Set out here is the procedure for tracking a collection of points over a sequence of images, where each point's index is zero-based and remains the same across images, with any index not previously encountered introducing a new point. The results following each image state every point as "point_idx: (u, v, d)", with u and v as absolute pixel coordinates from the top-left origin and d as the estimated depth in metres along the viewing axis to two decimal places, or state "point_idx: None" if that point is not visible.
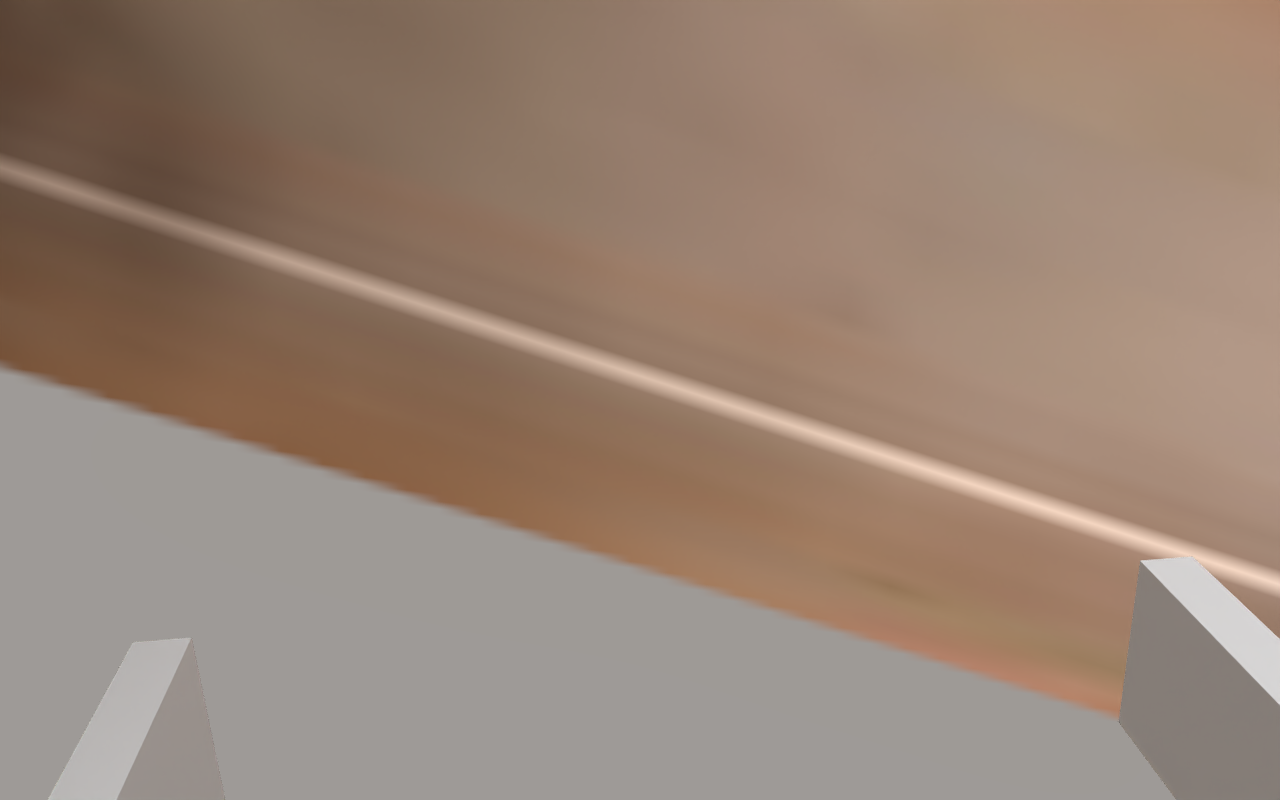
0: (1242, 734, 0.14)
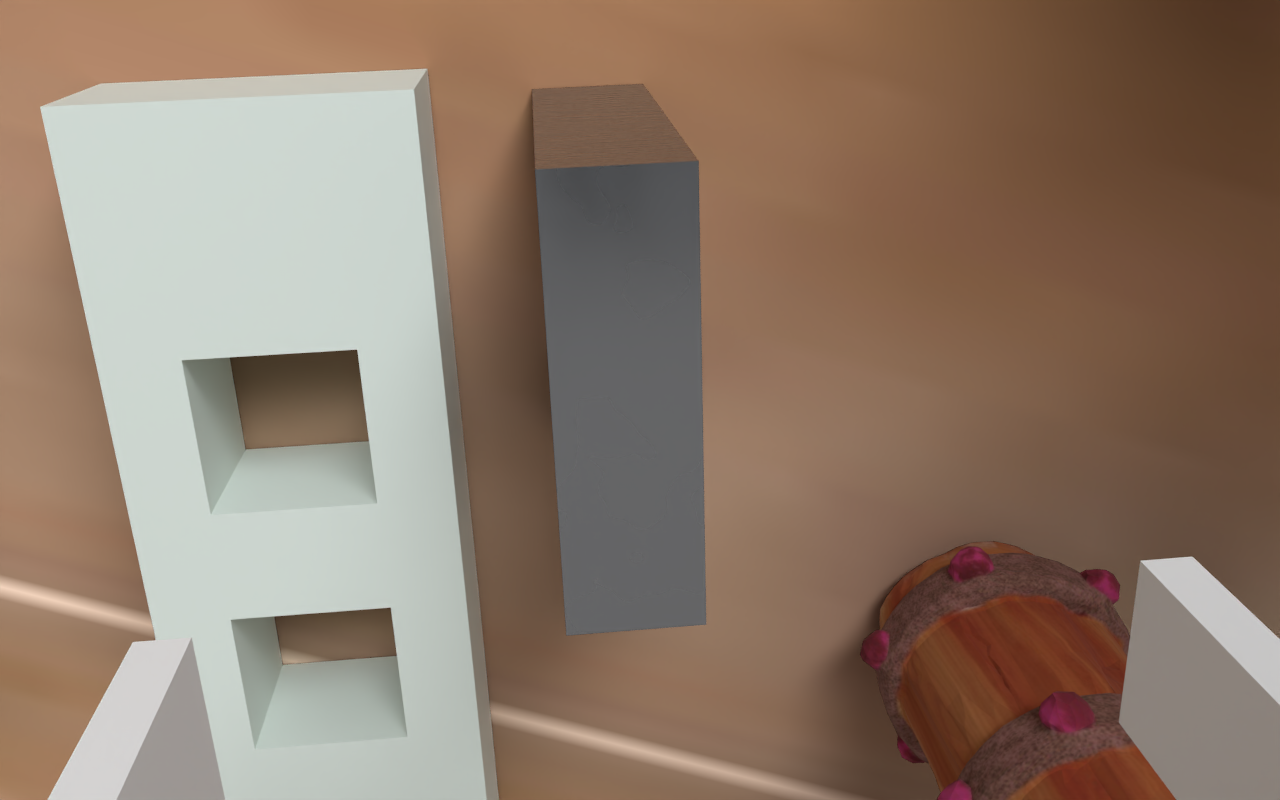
0: (1243, 735, 0.14)
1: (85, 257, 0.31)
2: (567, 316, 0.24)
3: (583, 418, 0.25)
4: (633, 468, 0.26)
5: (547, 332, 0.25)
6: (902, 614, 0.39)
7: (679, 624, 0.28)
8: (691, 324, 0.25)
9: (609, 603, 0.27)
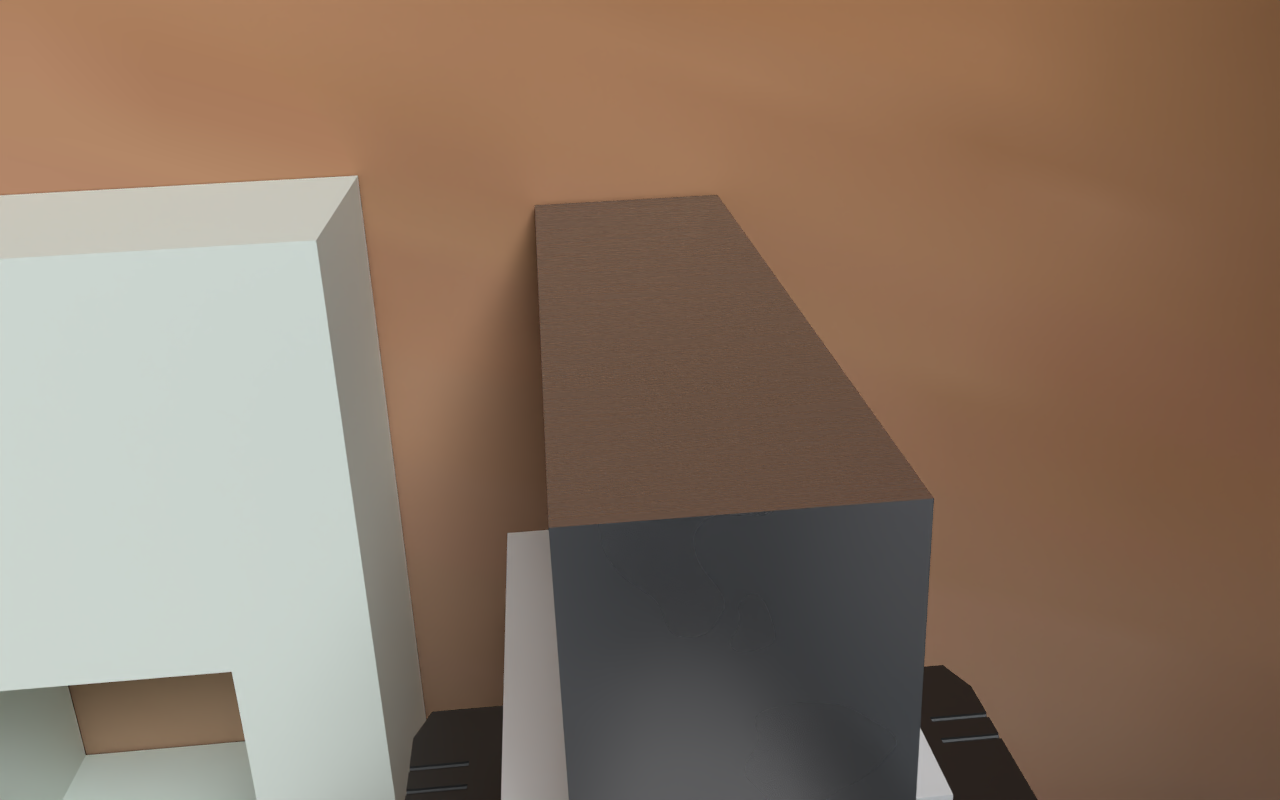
0: None
1: None
2: None
3: None
4: None
5: None
6: None
7: None
8: None
9: None
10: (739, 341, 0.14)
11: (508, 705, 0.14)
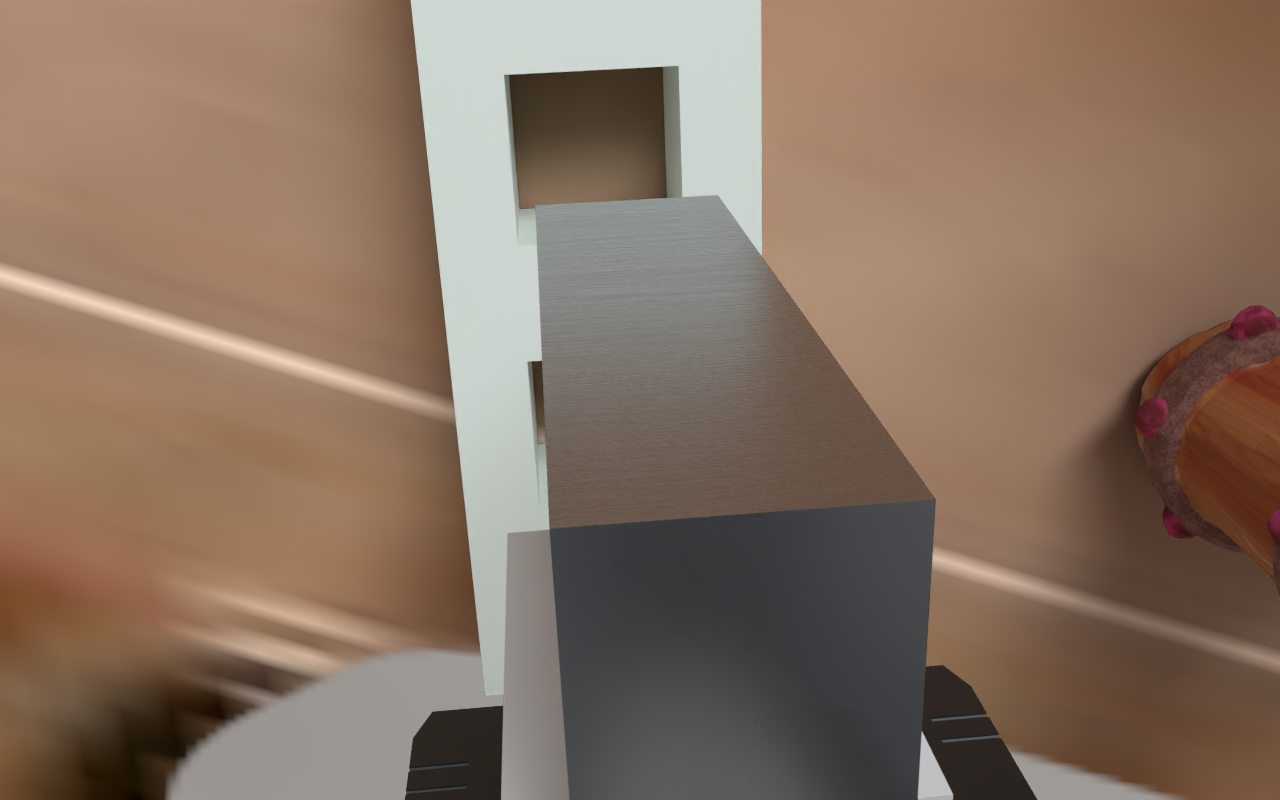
0: None
1: None
2: None
3: None
4: None
5: None
6: (1180, 378, 0.38)
7: None
8: None
9: None
10: (740, 341, 0.14)
11: (508, 705, 0.14)
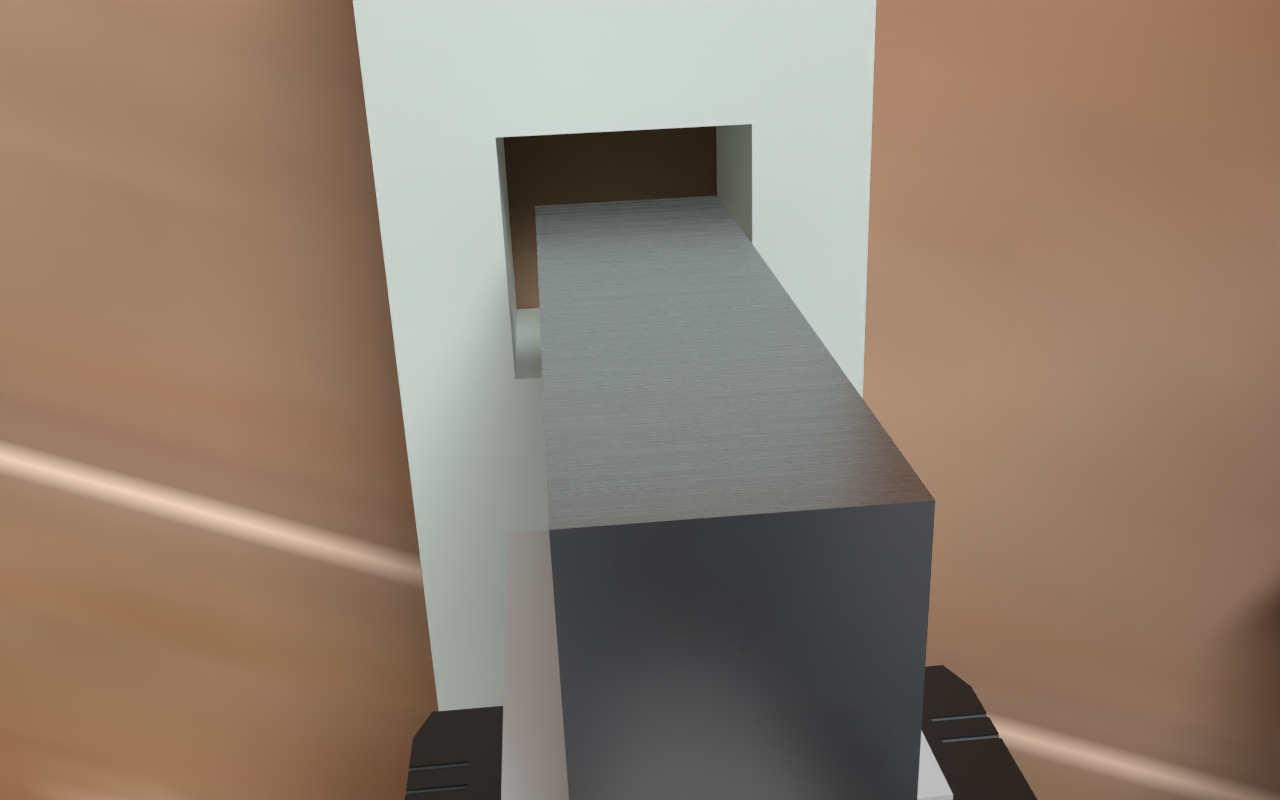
0: None
1: None
2: None
3: None
4: None
5: None
6: None
7: None
8: None
9: None
10: (740, 342, 0.14)
11: (508, 705, 0.14)
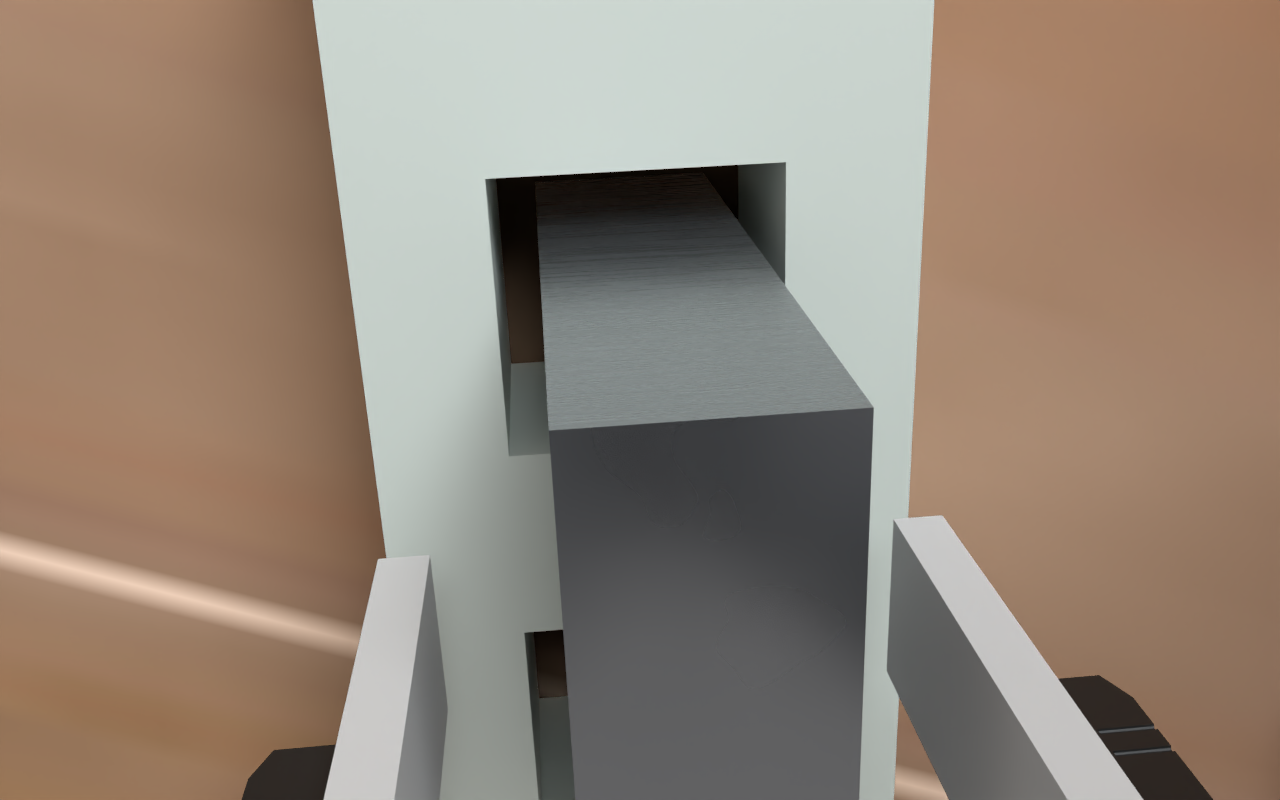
0: (951, 672, 0.16)
1: None
2: (610, 689, 0.13)
3: None
4: None
5: (572, 717, 0.13)
6: None
7: None
8: (845, 694, 0.13)
9: None
10: (716, 291, 0.16)
11: (341, 746, 0.14)
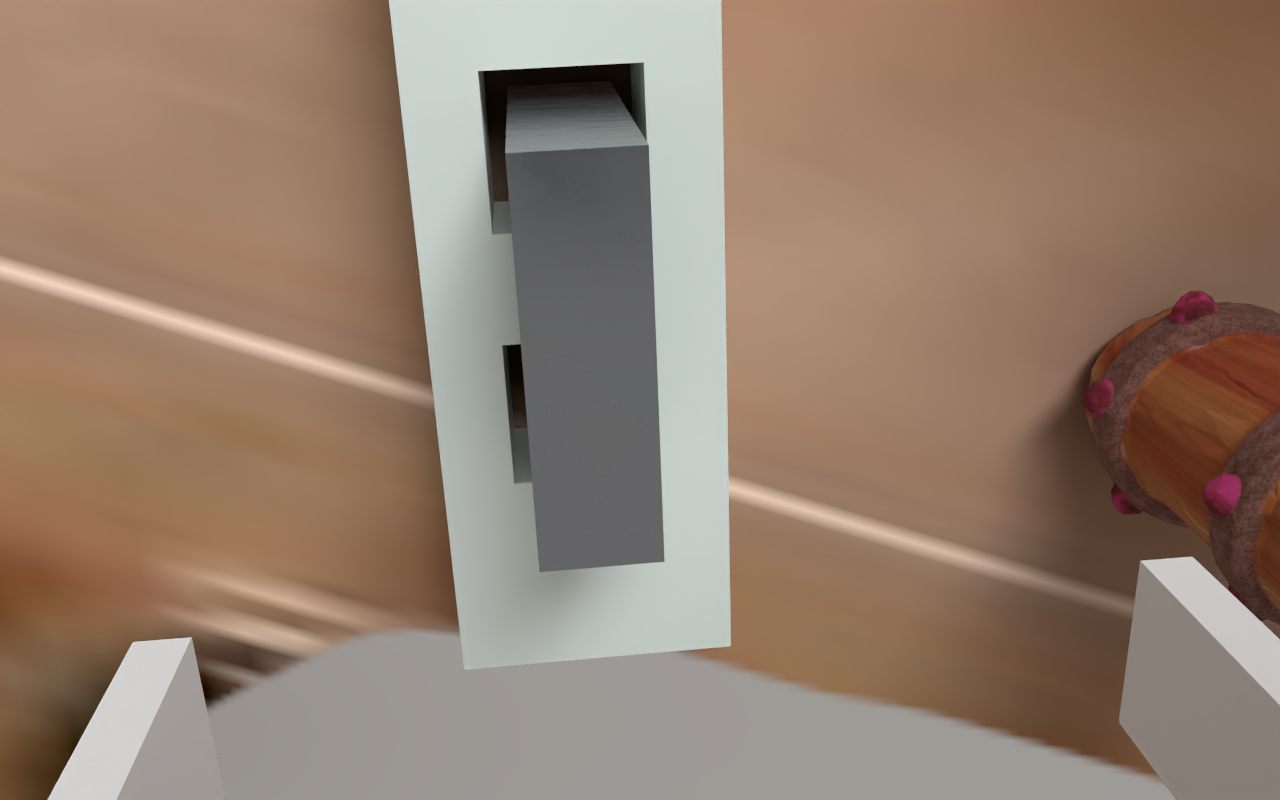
0: (1242, 734, 0.14)
1: None
2: (536, 283, 0.28)
3: (551, 375, 0.29)
4: (596, 419, 0.29)
5: (518, 298, 0.28)
6: (1125, 361, 0.40)
7: (640, 562, 0.31)
8: (645, 290, 0.28)
9: (578, 542, 0.30)
10: (595, 119, 0.31)
11: None
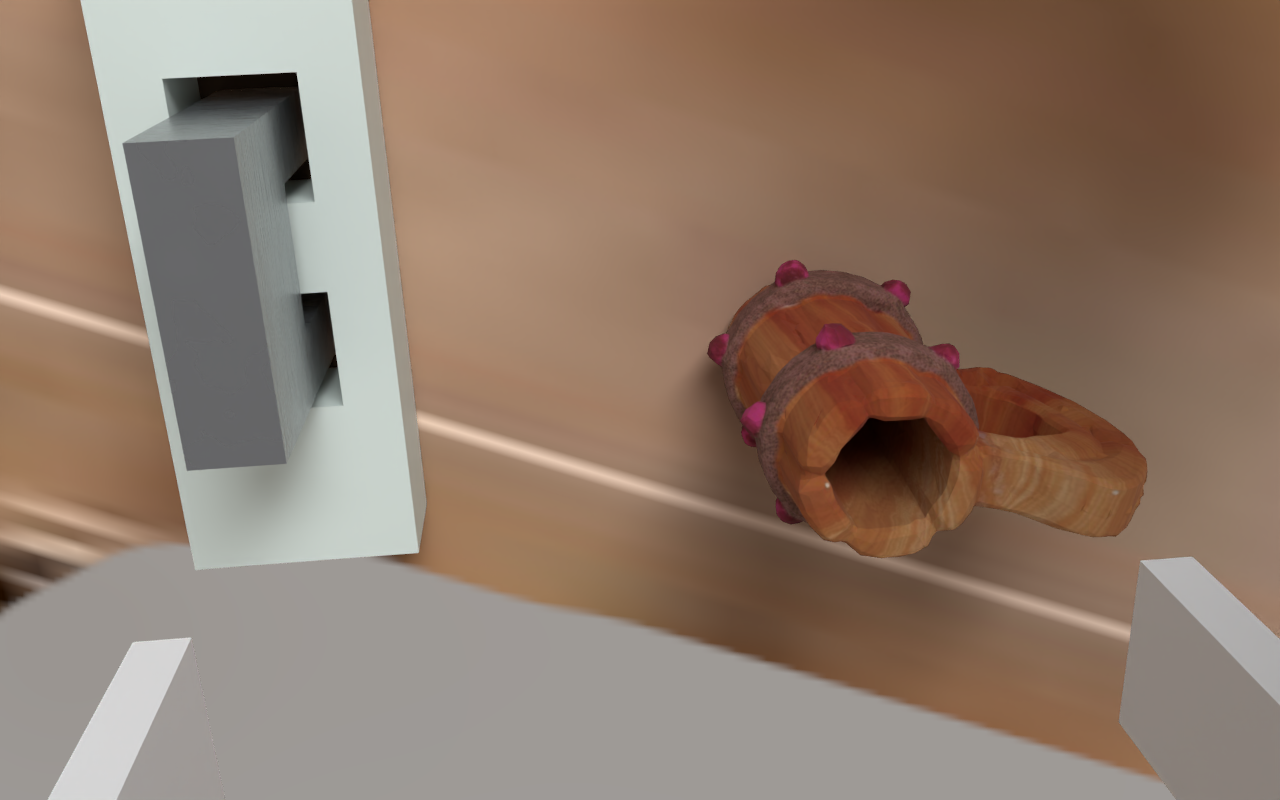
0: (1243, 734, 0.14)
1: None
2: (157, 242, 0.36)
3: (178, 314, 0.37)
4: (217, 349, 0.38)
5: (145, 254, 0.36)
6: (739, 318, 0.48)
7: (268, 464, 0.39)
8: (245, 248, 0.37)
9: (214, 447, 0.39)
10: (233, 117, 0.39)
11: None
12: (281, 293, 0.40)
